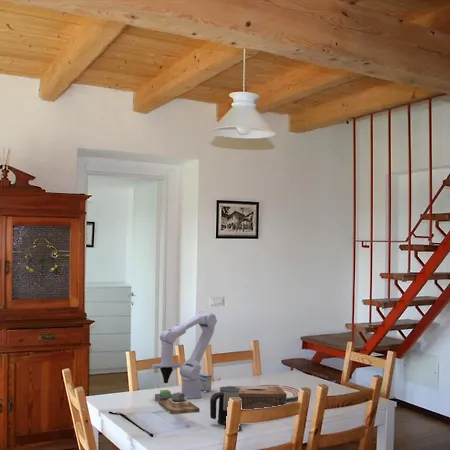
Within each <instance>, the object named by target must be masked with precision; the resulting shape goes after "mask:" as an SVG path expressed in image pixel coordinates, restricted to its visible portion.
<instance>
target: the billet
mask: <svg viewBox="0 0 450 450" xmlns="http://www.w3.org/2000/svg"><path fill="white" fill-rule="evenodd" d="M172 395H173V398H172V401H173V402H184V396H185V394H183V393H182V392H174V393H172Z"/></svg>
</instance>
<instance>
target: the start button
mask: <svg viewBox="0 0 450 450" xmlns="http://www.w3.org/2000/svg"><path fill="white" fill-rule="evenodd" d="M159 394H160V396H162V397H170V394H172V393H171V391H170V390H169V389H160V393H159Z"/></svg>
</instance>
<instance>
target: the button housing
mask: <svg viewBox="0 0 450 450" xmlns="http://www.w3.org/2000/svg"><path fill="white" fill-rule="evenodd" d="M171 398H173V393H171V394H170V397H162V396H160V393H155V394H154V400H155V401H156V402H158V403H159V401H163V400H168V399H171Z"/></svg>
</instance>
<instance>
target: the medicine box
mask: <svg viewBox="0 0 450 450" xmlns="http://www.w3.org/2000/svg"><path fill="white" fill-rule="evenodd" d="M212 376H213V375H211V374H206V373H200V374H199V377H198V378H197V379H200V381H201V391H206V392H205V393H208V392H207V391H210V390H211V391H212ZM211 391H210V392H211Z"/></svg>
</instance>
